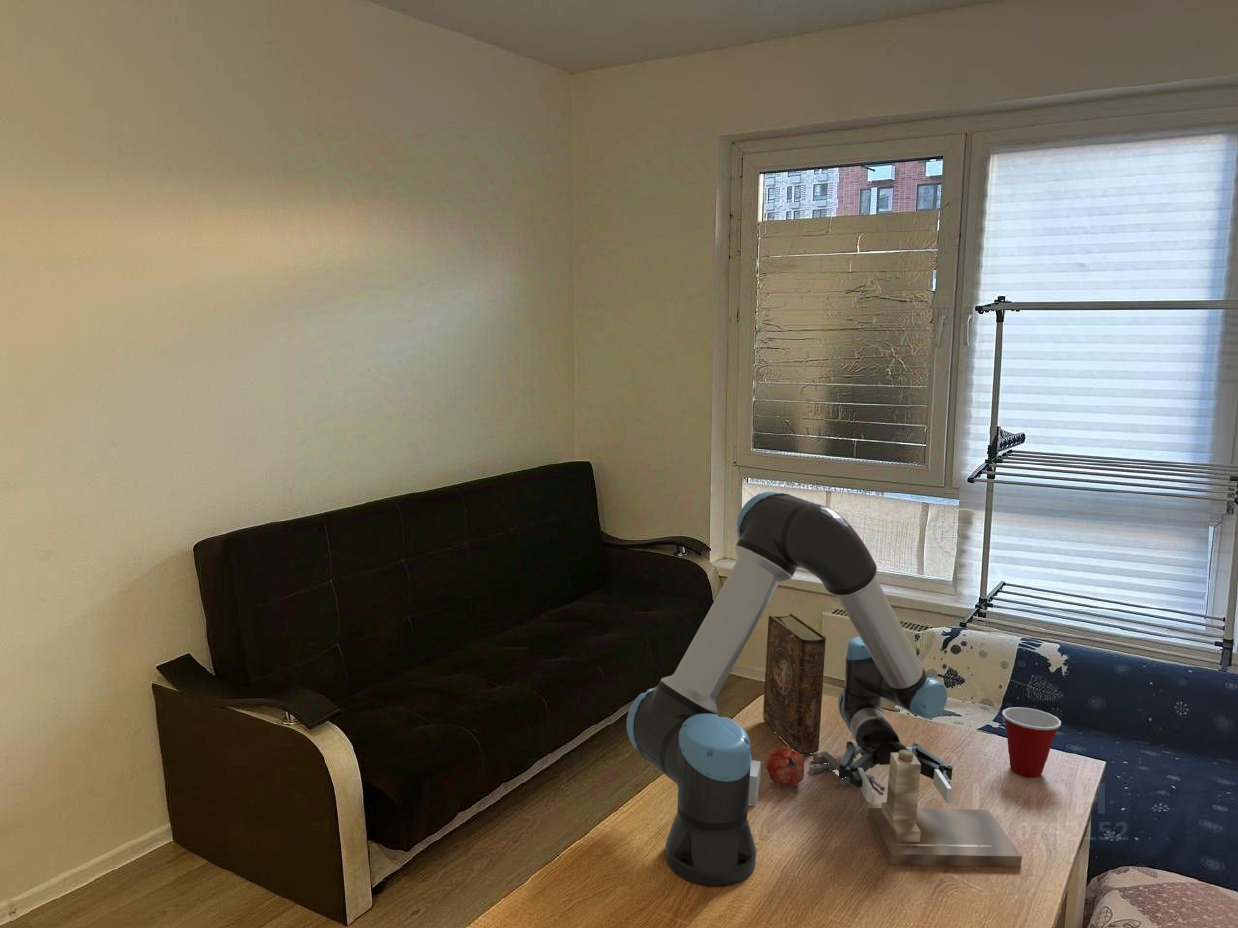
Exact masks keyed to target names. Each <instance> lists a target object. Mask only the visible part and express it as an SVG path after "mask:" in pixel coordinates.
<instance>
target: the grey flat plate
mask: <svg viewBox="0 0 1238 928" xmlns="http://www.w3.org/2000/svg"><path fill="white" fill-rule="evenodd" d="M881 809H882V807H867V815H866V816H867V817H866V819H867V820H868V822H869V825H870V827H871V829H872V831H873V833H874V835H875V837H876V839H877V842H878V843H879V845H880V848H881V850H882V852H883V854H884V856H885V858H886V860H887V862H888V865H889V866H927V867H928V866H929V867H930V866H932V867H934V866H935V867H937V866H939V867H985V868H986V867H989V868H991V867H992V868H993V867H994V868H995V867H996V868H1021V867H1022V862H1023V861H1022V859H1023V855H1022V854H1021V853H1020V851H1019V850H1018V849H1017V847H1016V846H1015V844H1014V843H1013V842H1012V840H1011V839H1010V838H1009V836H1008V835H1007V833H1006V832H1005V831H1004V829H1003V828H1002V827H1001V825H1000V824H999V822H998V821H997V820H996V818H995V816H994V815H993V814H992V813H991V812H990V810H989V809H967V808H966V809H964V808H963V809H961V808H960V809H958V808H956V809H955V808H954V809H953V808H917V816H916V824H917V826H918V828H919V829H920V831H921V833H920V842H896V840H895V838H894V836H893V834H892V832H891V830H890V828H889V827H888V825H887V823H886V821H885V819H884V817H883V815H882V813H881Z"/></svg>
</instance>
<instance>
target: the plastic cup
mask: <svg viewBox="0 0 1238 928" xmlns="http://www.w3.org/2000/svg"><path fill="white" fill-rule="evenodd" d="M1001 714H1002V717H1003V718H1004V723H1005V729H1006V737H1007V739H1006V740H1007V750H1008V751H1007V752H1008V755H1009V756H1008V759H1009V766H1010V770H1011V772H1012V773H1014V774H1015V775H1017V776H1020V777H1022V778H1027V779H1036V778H1037V779H1038V778H1039V777H1041V775H1042V774H1043V773H1044V772H1043V771H1044V769H1045V765H1046V762H1047V760H1048V757H1049V753H1050V751H1051V748H1052V745H1053V741H1054V739H1055V737H1056V734H1057V731H1058V730H1059V728H1060V727H1061V725H1062V721H1061V720H1060V719H1059V718H1058V717H1057V716H1055V715H1053V714H1051V713H1049V712H1046V711H1042V710H1041V709H1035V708H1030V707H1019V706H1018V707H1017V706H1016V707H1008V708H1005V709H1003V710H1002V712H1001Z"/></svg>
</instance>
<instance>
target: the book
mask: <svg viewBox="0 0 1238 928" xmlns="http://www.w3.org/2000/svg"><path fill="white" fill-rule="evenodd" d="M767 619H768V620H767V621H768V623H767V639H766V640H767V641H766V656H765V657H766V658H765V675H764V689H763V692H764V694H763V709H762V710H763V711H762V717H763V718H762V719H763V722H764V721H765V722H764V723H765V724H766V723H767V724H766V725H767V726H768V728H769V729H771V728H772V729H771V730H772V731H773V733H775V732H776V733H777V734H776V733H775V734H776V735H777V736H778V735H779V736H780V737H781V738H782V739H783V740H784V741H785V742H786V743H787V744H788V745H789V746H790V747H791V748H792V749H793V750H794V751H797V752H799V753H800V754H810V753H814V752H817V751H818V752H819V748H820V747H819V746H820V732H821V719H822V718H821V717H822V716H821V715H822V703H823V702H822V701H823V687H824V674H825V672H824V671H825V658H826V657H825V656H826V642H827V636H826V635H824V634H823V633H821V632H820V631H818V629H816V628H814V627H813V626H811V625H810V624H808V623H807V622H805V621H804V620H803V619H802V618H800V617H798V616H797V615H795V614H794V613H789V614H788V615H786V616H773V615H772V614H771V615H768V618H767ZM779 736H778V737H779ZM780 737H779V738H780ZM781 738H780V739H781ZM782 739H781V740H782ZM783 740H782V741H783ZM784 741H783V742H784ZM785 742H784V743H785ZM786 743H785V744H786ZM787 744H786V745H787ZM788 745H787V746H788ZM789 746H788V747H789ZM790 747H789V748H790ZM791 748H790V749H791ZM792 749H791V750H792ZM810 755H811V754H810Z"/></svg>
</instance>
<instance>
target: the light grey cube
mask: <svg viewBox="0 0 1238 928" xmlns="http://www.w3.org/2000/svg"><path fill="white" fill-rule="evenodd" d="M761 769H762V761H760V760H753V759H751V767H750V782H749V797H748V804H751V805H756V806H757V802H758V798H757V797H759V794H760V789H761V788H760V786H761ZM751 805H750V806H751Z"/></svg>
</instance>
